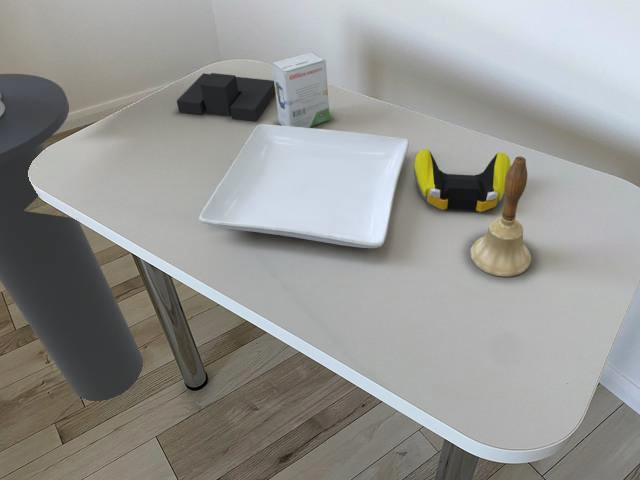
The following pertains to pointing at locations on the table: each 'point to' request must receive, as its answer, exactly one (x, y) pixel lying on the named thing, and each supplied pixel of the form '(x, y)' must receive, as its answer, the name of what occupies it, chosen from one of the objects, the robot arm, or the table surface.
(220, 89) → the black block
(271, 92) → the base pad
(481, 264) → the hand bell
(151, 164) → the table surface
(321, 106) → the ink box
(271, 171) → the square plate
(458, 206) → the gaming controller
